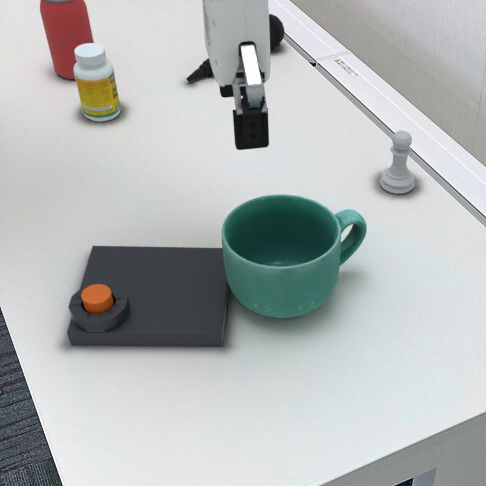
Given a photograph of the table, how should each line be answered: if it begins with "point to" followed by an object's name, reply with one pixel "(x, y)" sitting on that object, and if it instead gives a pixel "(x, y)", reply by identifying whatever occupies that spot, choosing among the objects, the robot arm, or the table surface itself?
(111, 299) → the button
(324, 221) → the mug
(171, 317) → the scale
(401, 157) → the chess piece
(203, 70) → the microphone
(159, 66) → the table surface
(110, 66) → the supplement bottle
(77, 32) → the beer can
